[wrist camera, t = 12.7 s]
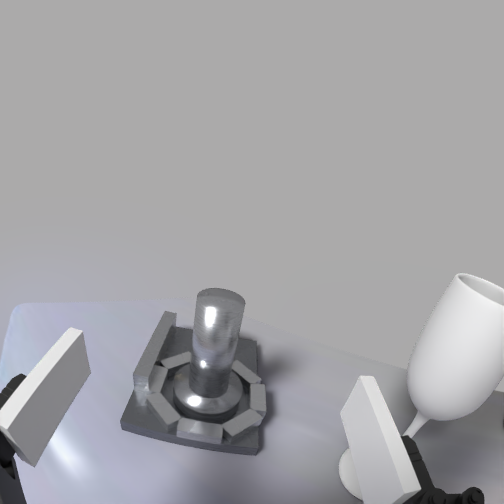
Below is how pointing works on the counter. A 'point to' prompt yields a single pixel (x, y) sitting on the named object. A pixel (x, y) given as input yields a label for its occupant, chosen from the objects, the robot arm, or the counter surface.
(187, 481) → the counter surface
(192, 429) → the carrier plate
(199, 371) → the flanged metal post
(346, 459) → the wineglass
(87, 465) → the counter surface
